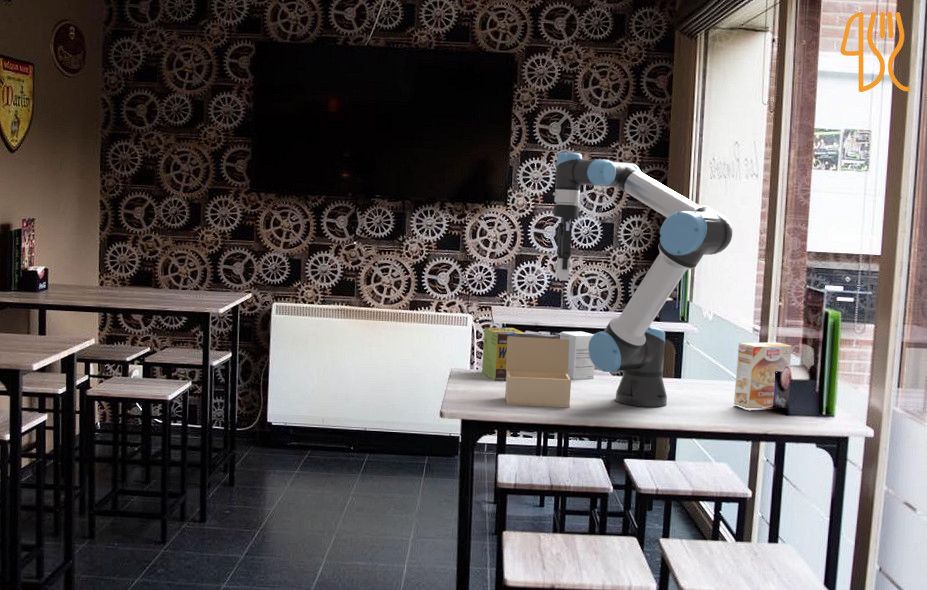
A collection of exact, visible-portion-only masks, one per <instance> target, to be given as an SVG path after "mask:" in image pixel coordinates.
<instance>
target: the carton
mask: <svg viewBox="0 0 927 590" xmlns="http://www.w3.org/2000/svg"><path fill="white" fill-rule="evenodd" d="M571 386H572V379H570V377H569V376H568V374H561V373H541V372H520V371H507V374H506V381H505V391H504V392H505V395H504V397H505V401H506V402H505V403H506V405H513V406H529V407H530V406H532V407H549V408H550V407H552V408H553V407H554V408H570V403H571V390H572V389H571V388H572V387H571Z"/></svg>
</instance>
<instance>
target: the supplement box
mask: <svg viewBox="0 0 927 590" xmlns="http://www.w3.org/2000/svg"><path fill="white" fill-rule="evenodd" d="M593 335H594V333H593V334H592V333H591V332H590V333H589V332H585V331H561V332H560V339H569V359H568V376H569V377H570V379H571V380H585V379H586V380H587V379H590V380H591V379H594V377H595V368H596V367H595V366H594V364H593V363H592V361H591V359H590V356H589V355H590V354H589V351H588V346H589V341H590V339H591V337H592V336H593Z"/></svg>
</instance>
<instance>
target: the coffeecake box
mask: <svg viewBox="0 0 927 590" xmlns="http://www.w3.org/2000/svg"><path fill="white" fill-rule="evenodd" d="M792 347H793V346H792V345H790V344H787V343H783V342H782V343H781V342H774V341H773V342H739V343H738V351H737V364H736V374H735V386H734V387H735V388H734V397H733V398H734V399H733V405H734V404H735V405H739V406H742V407H745V408H762V407H771V406H772V405H773V398H774V381H775V371H781V370H783V368H784V367H785V366H786V365H790V366H791V359H792V358H791V357H792ZM776 373H777V372H776Z"/></svg>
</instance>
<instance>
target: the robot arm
mask: <svg viewBox="0 0 927 590" xmlns="http://www.w3.org/2000/svg"><path fill="white" fill-rule="evenodd" d="M581 186H597V187H611V188H618V189H619V190H621V191H623V192H625V193H626V194H628V195H629V196H631V197H633V198H634V199H636V200H637V201H639V202H641V203H643V204H645V205H646V206H648V207H649V208H650V209H653V210H654V211H656V212H657V213H659V214H660V215H662V216H663V217H666V219H665V220H664V221H663V223H662V225H661V226H660V231H659V235H660V237H659V242H658V243H659V244H658V250H659V254H658V255H657V256H656V258H655V260H654V261H653V263H652V265H651V266H650V268H649V270H648V271H647V273H646V274H645V276H644V278H642V280H641V282H640V283H639V285H638V287H637V289H636V290H635V292H634V293H633V294H632V297H631V298H630V299H629V301H628V302H627V304H626V306H625V307H624V309H623V310H622V312H621V314H620V315H619V317H614V318H612V319H611V320H610V321H609V322H608V324H607V325H606V327H605V329H604V330H603V331H598V332H595V333H593V336H592V337H591V339H590V341H589V346H588V351H589V354H590V355H589V356H590V359H591V361H592V363H593V364H594V366H595V367H594V368H596V369H597V370H599V371H601V372H602V373H603V372H604V373H615V372H621V371H622V376H621V378H620V379H621V380H620V382H619V385H618V386H617V389H616V392H615V401H616V402H618V403H621V404H624V405H628V406H635V407H644V408H645V407H647V408H657V407H663V406H666V405H667V401H668V400H667V399H668V395H667V391H666V387H665V384H664V379H663V375H664V374H663V372H664V361H665V348H666V347H665V346H666V332H665V331H664V329H662V328H660V327H653V326H651V325H652V323H653V321H654V320H655V318H657V316H658V314H659V313H660V311H661V309H663V306H664V305H665V304H666V302H667V301H668V299H669V297H670V296H671V294H672V293H673V292H674V290H675V288H676V287H677V285H678V284H679V282H680V281H681V279H682V277H683V276H684V275H685V273H686V272H687V270H692V269H695V268H696V267H697V265H698V263H700V262H701V259H702V258H703V256H706V255H716V254H719V253H721V252H723V251H724V250H725V249H727V247H728V246H729V245H730V243H731V241H732V238H733V226H732V224H731V222H730V221H729V219H728V218H727V217H726V216H725V215H723V214H722V213H720V212H718V211H717V210H714V209H713V208H711V207H710V206H708V205H701V206H700V205H699V204H697V203H695V202H694V201H692V200H690V199H688V198H687V197H686V196H684V195H681V194H680V193H678V192H677V191H674V190H673V189H671V188H669V187H667V186H666V185H664V184H662V183H661V182H659V181H658V180H656V179H654V178H652V177H650V176H648V175H647V174H645V173H644V172H642V171H641V169H640V167H639V166H638V165H637V164H635V163H631V162H628V161H627V162H625V161H624V162H621V161H611V160H609V159H602V158H598V159H583V155H582V154H581V153H578V152H565V151H564V152H560V153H558V155H557V158H556V165H555V190H554V192H553V193H552V196H554V203H555V204H554V206H553V217H555V218H556V217H557V218H560V222H558V223H557V228H558V233H557V235H558V236H557V237H558V238H557V250H556V256H557V259H556V275H555V276H556V277H555V278H556V279H558V280H559V281H566V282H567V281H569V275H570V259H571V257H572V255H571V253H572V251H571V249H572V236H573V235H572V234H573V233H572V230H573V223H571V218H572V219H573V218H574V219H576V218H579V213H580V212H579V211H580V206H579V205H578V204H580V199H581V197H580V195H581Z"/></svg>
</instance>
